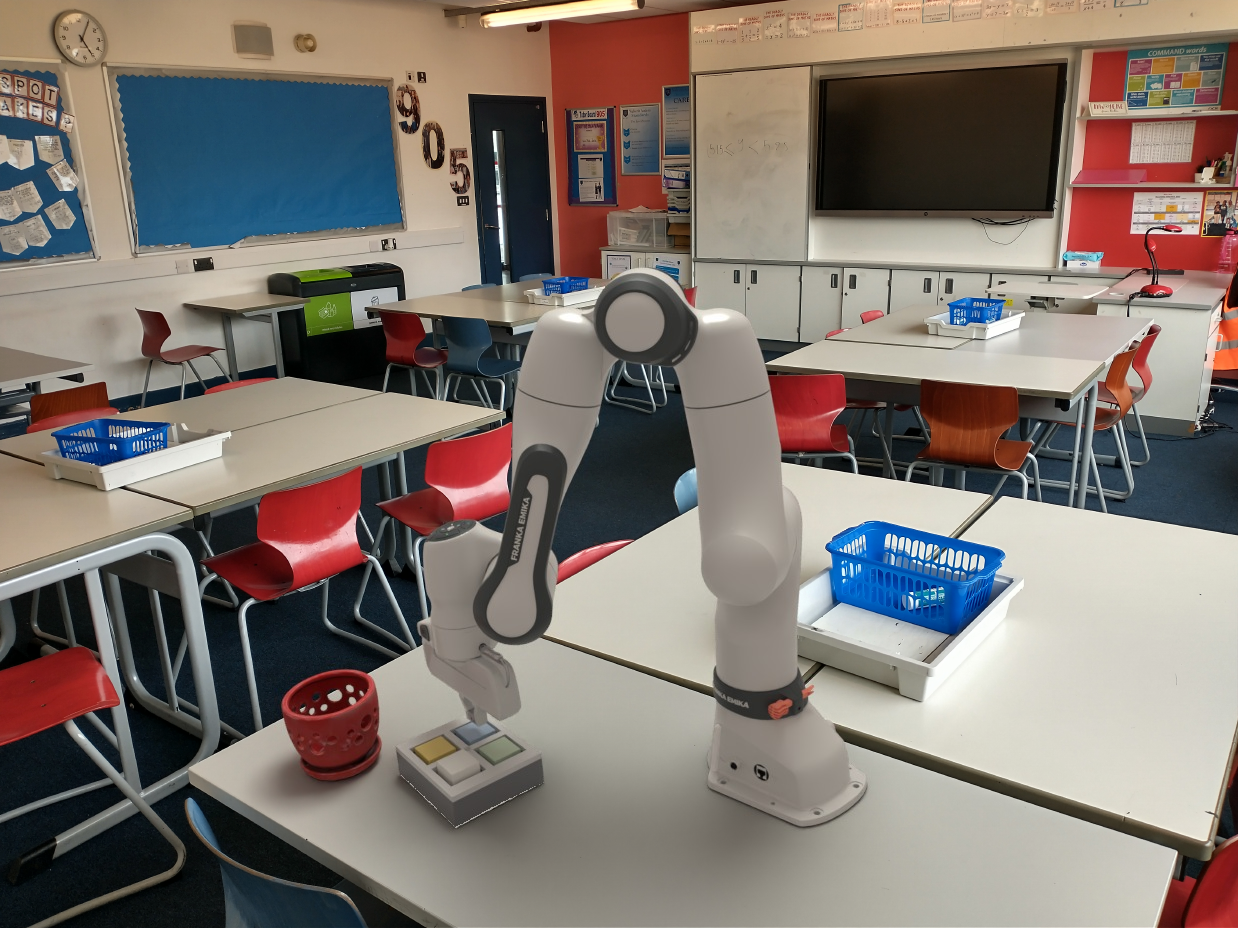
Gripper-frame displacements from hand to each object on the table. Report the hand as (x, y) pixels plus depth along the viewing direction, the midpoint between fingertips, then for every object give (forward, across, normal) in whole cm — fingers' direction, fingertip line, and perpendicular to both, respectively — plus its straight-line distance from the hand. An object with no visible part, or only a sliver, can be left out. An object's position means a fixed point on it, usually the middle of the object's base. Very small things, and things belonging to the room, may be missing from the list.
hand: (477, 721), depth 136 cm
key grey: (+3, -6, +7) cm, 10 cm away
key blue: (+4, +1, 0) cm, 4 cm away
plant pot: (+6, +14, +16) cm, 22 cm away
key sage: (+4, -6, 0) cm, 7 cm away
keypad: (+6, -3, +4) cm, 8 cm away
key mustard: (+4, +1, +7) cm, 8 cm away
